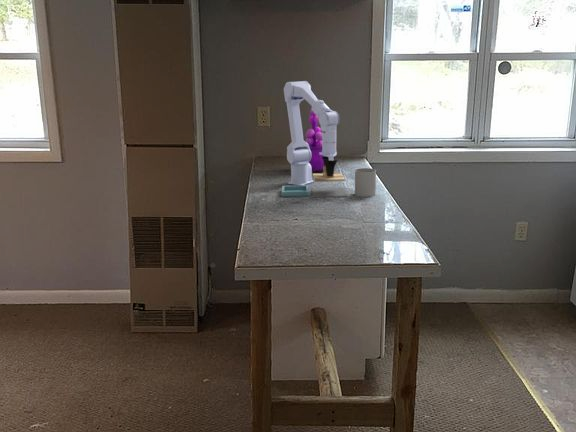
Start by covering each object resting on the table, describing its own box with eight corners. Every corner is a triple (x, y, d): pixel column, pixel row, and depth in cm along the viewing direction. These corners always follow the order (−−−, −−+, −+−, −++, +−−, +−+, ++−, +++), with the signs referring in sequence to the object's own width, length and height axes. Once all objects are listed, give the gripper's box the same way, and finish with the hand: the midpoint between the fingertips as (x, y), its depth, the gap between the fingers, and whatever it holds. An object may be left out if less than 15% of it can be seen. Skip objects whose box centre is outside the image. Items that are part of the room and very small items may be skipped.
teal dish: (282, 190, 260) (282, 185, 259) (308, 190, 260) (308, 185, 259) (281, 196, 249) (281, 192, 249) (308, 196, 249) (308, 191, 248)
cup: (374, 197, 246) (375, 172, 244) (354, 196, 248) (354, 172, 245) (375, 192, 254) (376, 168, 252) (356, 191, 256) (356, 167, 253)
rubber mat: (311, 189, 261) (311, 188, 261) (344, 188, 261) (344, 187, 261) (312, 197, 247) (312, 196, 247) (347, 196, 247) (347, 195, 247)
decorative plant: (290, 168, 305) (289, 107, 296) (325, 165, 310) (325, 105, 302) (302, 175, 287) (301, 110, 279) (339, 172, 292) (339, 108, 284)
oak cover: (312, 175, 258) (312, 164, 256) (341, 174, 258) (341, 163, 257) (315, 181, 246) (315, 169, 245) (345, 181, 247) (345, 169, 245)
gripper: (317, 139, 255) (317, 171, 259) (321, 145, 241) (321, 178, 245) (334, 138, 255) (334, 171, 259) (339, 144, 241) (339, 178, 245)
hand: (329, 174), depth 252 cm, fingers closed on oak cover, 4 cm apart
